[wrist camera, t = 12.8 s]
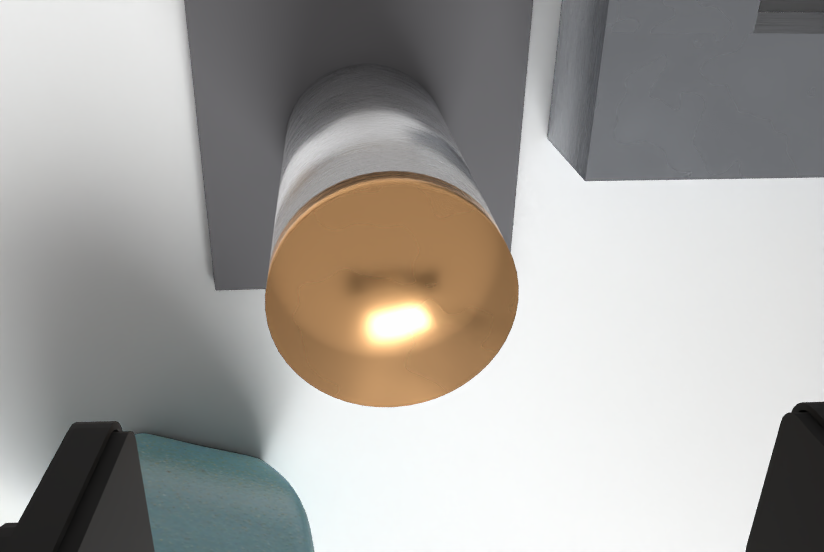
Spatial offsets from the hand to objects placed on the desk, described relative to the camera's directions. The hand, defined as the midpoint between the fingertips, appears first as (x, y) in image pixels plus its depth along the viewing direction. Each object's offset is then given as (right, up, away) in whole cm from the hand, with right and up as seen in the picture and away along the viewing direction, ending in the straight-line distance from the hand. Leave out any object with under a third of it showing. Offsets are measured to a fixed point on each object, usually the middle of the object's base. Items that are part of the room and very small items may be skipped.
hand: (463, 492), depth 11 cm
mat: (-2, +7, +13) cm, 15 cm away
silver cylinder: (-2, +7, +13) cm, 15 cm away
